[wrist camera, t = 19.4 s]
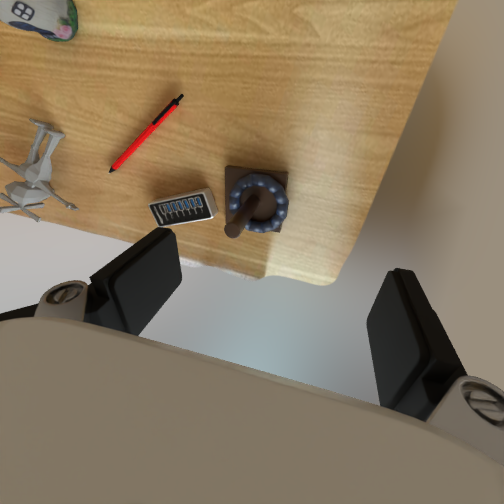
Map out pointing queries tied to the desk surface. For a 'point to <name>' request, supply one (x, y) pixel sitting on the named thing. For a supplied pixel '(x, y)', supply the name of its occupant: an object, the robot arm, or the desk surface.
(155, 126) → the pen
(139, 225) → the desk surface
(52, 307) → the robot arm
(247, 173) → the stand
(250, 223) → the ring
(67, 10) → the decorative ornament
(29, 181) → the figurine
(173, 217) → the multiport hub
